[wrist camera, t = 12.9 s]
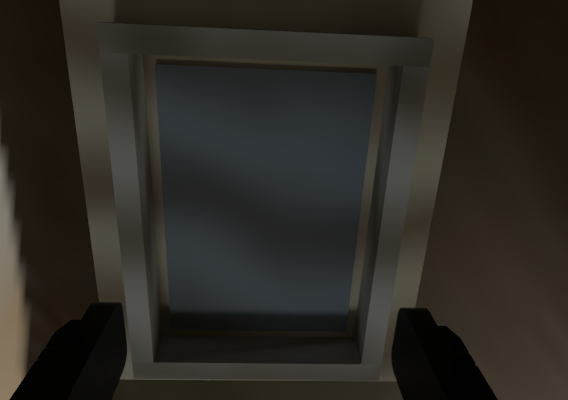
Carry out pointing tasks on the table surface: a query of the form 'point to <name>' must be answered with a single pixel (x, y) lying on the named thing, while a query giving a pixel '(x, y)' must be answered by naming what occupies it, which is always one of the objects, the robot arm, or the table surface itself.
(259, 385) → the table surface
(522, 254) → the table surface
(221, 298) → the window
